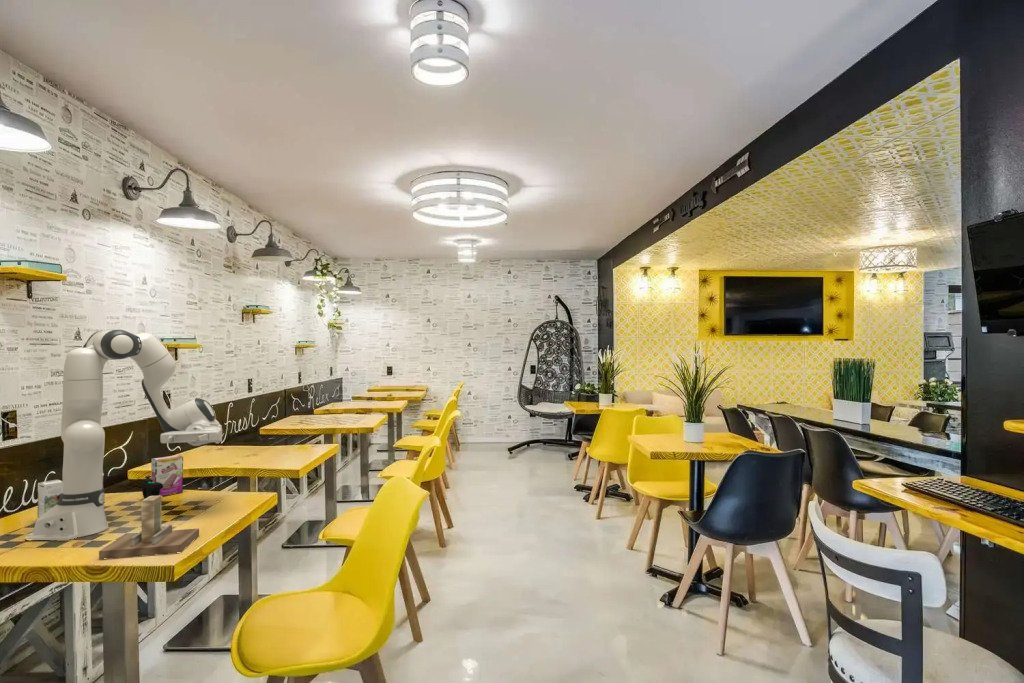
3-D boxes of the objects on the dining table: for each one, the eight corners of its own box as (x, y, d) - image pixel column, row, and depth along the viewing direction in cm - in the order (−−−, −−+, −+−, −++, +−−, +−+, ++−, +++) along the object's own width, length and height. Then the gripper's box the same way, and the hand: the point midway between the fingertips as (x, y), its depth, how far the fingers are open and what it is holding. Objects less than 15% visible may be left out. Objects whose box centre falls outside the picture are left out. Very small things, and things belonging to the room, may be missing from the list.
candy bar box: (155, 498, 231) (155, 460, 232) (150, 496, 234) (150, 458, 235) (183, 492, 240) (183, 455, 241) (178, 491, 243) (178, 454, 244)
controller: (150, 498, 232) (150, 474, 233) (164, 502, 226) (164, 477, 226) (139, 500, 229) (139, 476, 229) (153, 504, 222) (153, 480, 222)
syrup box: (56, 517, 206) (56, 479, 207) (63, 519, 203) (63, 480, 204) (37, 521, 202) (37, 482, 202) (44, 523, 199) (44, 484, 199)
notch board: (98, 559, 162) (98, 542, 162) (125, 541, 178) (125, 526, 178) (179, 553, 167) (179, 536, 167) (199, 535, 182) (199, 520, 182)
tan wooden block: (141, 542, 169) (141, 500, 169) (150, 536, 175) (150, 495, 175) (153, 541, 170) (152, 500, 170) (161, 535, 176) (161, 495, 176)
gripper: (168, 427, 210) (152, 432, 196) (226, 424, 214) (214, 429, 200) (168, 443, 210) (152, 449, 196) (226, 440, 214) (214, 446, 200)
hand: (184, 439), depth 198 cm, fingers open, 8 cm apart
